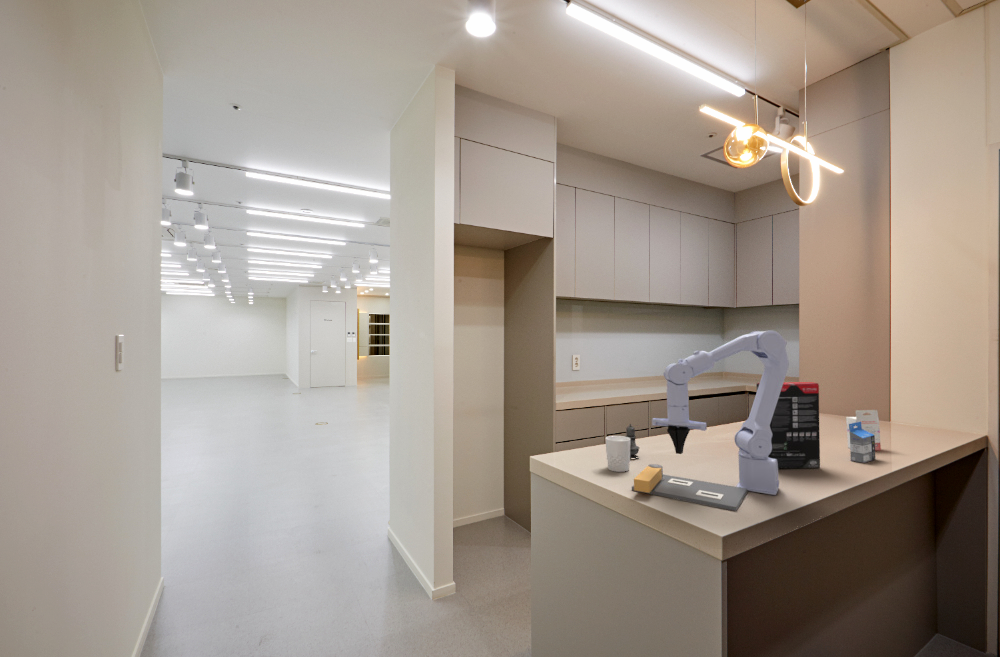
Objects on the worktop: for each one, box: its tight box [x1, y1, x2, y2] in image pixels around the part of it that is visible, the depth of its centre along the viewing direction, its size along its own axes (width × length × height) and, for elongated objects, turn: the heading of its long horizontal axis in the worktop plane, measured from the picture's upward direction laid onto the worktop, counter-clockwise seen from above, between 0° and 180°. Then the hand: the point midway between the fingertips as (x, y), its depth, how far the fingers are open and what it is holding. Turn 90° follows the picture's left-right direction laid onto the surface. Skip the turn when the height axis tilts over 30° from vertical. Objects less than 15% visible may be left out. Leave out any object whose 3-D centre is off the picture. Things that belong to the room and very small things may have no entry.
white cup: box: [604, 435, 631, 473], centre depth 141 cm, size 8×8×10 cm
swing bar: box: [633, 463, 664, 494], centre depth 123 cm, size 17×4×3 cm, turn 147°
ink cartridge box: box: [845, 409, 882, 452], centre depth 160 cm, size 9×5×15 cm, turn 90°
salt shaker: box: [625, 423, 640, 458], centre depth 155 cm, size 6×6×12 cm
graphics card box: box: [756, 381, 821, 469], centre depth 140 cm, size 17×7×27 cm, turn 92°
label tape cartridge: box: [849, 422, 877, 464], centre depth 146 cm, size 9×4×12 cm, turn 119°
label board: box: [631, 473, 748, 512], centre depth 119 cm, size 26×16×1 cm, turn 52°
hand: (679, 453), depth 124 cm, fingers closed
